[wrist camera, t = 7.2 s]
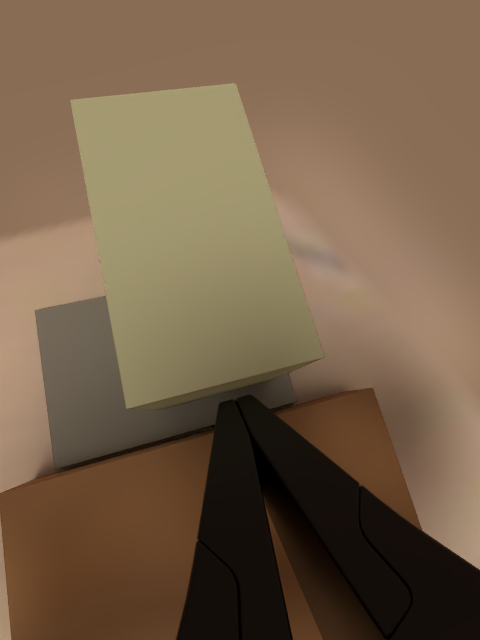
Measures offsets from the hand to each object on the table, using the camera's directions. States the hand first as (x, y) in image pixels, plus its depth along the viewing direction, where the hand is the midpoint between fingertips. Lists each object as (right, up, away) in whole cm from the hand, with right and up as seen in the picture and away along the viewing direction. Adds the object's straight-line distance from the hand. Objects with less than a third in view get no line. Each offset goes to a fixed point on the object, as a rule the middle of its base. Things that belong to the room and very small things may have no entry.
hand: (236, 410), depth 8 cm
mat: (-3, +1, +7) cm, 8 cm away
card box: (0, 0, +3) cm, 3 cm away
